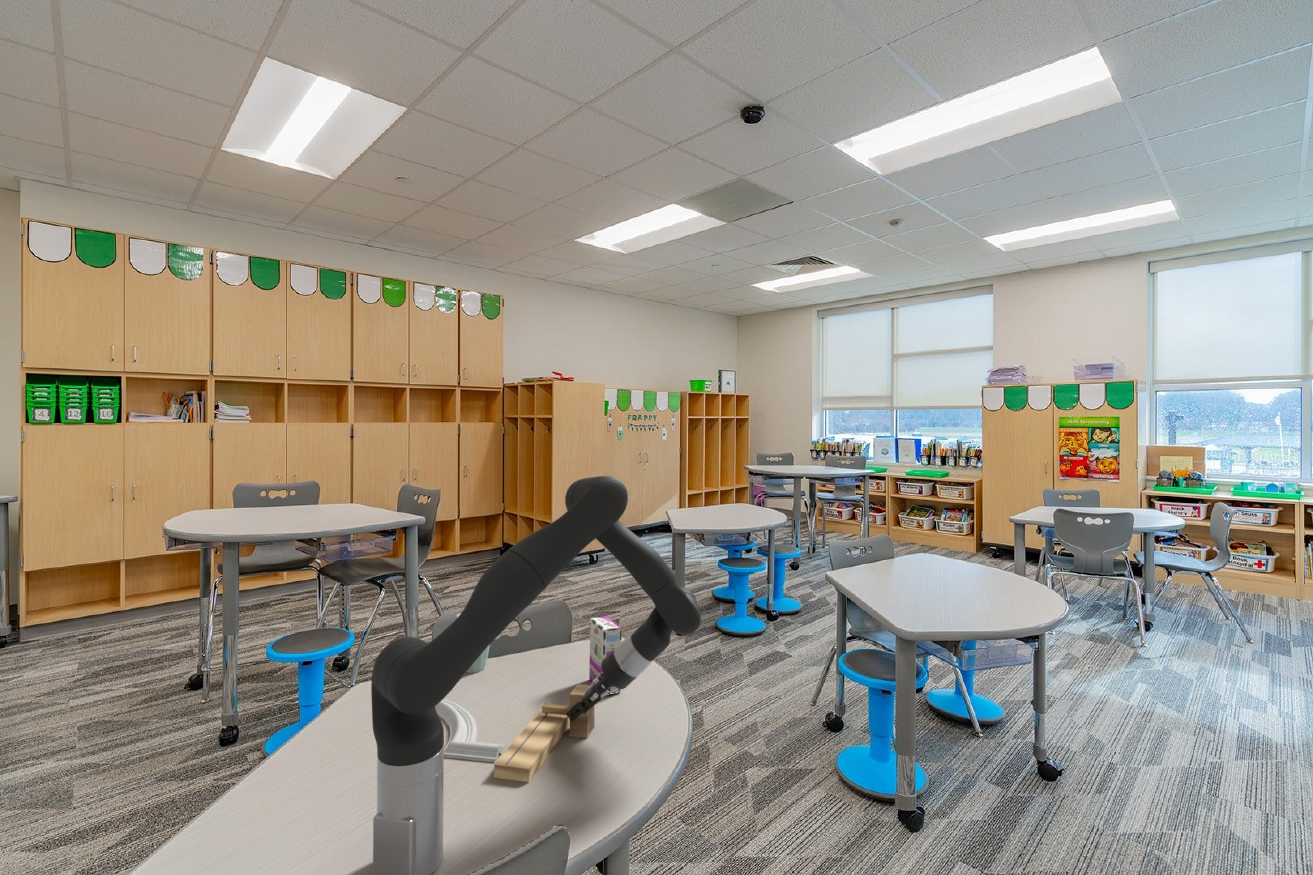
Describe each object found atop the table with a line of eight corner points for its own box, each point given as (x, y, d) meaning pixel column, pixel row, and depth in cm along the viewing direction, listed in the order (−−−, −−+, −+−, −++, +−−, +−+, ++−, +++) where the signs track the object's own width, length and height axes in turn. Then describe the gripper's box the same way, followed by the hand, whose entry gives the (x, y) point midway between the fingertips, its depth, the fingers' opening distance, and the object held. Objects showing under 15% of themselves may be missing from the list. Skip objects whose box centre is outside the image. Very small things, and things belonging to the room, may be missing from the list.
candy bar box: (621, 693, 147) (622, 627, 147) (602, 696, 145) (603, 630, 145) (606, 676, 157) (607, 615, 157) (588, 679, 155) (589, 617, 155)
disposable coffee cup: (481, 658, 169) (481, 605, 169) (501, 668, 162) (502, 614, 162) (446, 668, 161) (446, 613, 161) (466, 680, 154) (466, 622, 154)
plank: (529, 782, 109) (529, 768, 109) (494, 777, 111) (494, 763, 111) (572, 720, 133) (572, 709, 133) (543, 717, 134) (543, 706, 134)
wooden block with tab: (587, 737, 125) (587, 695, 125) (538, 732, 128) (538, 690, 128) (594, 726, 130) (594, 685, 130) (547, 721, 133) (547, 681, 132)
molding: (513, 759, 118) (514, 745, 118) (452, 779, 111) (452, 763, 111) (449, 685, 153) (450, 673, 153) (400, 696, 146) (400, 684, 146)
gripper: (624, 636, 134) (573, 684, 136) (606, 660, 120) (550, 713, 122) (646, 661, 133) (595, 709, 135) (631, 688, 119) (574, 741, 121)
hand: (574, 711), depth 129 cm, fingers closed on wooden block with tab, 5 cm apart
